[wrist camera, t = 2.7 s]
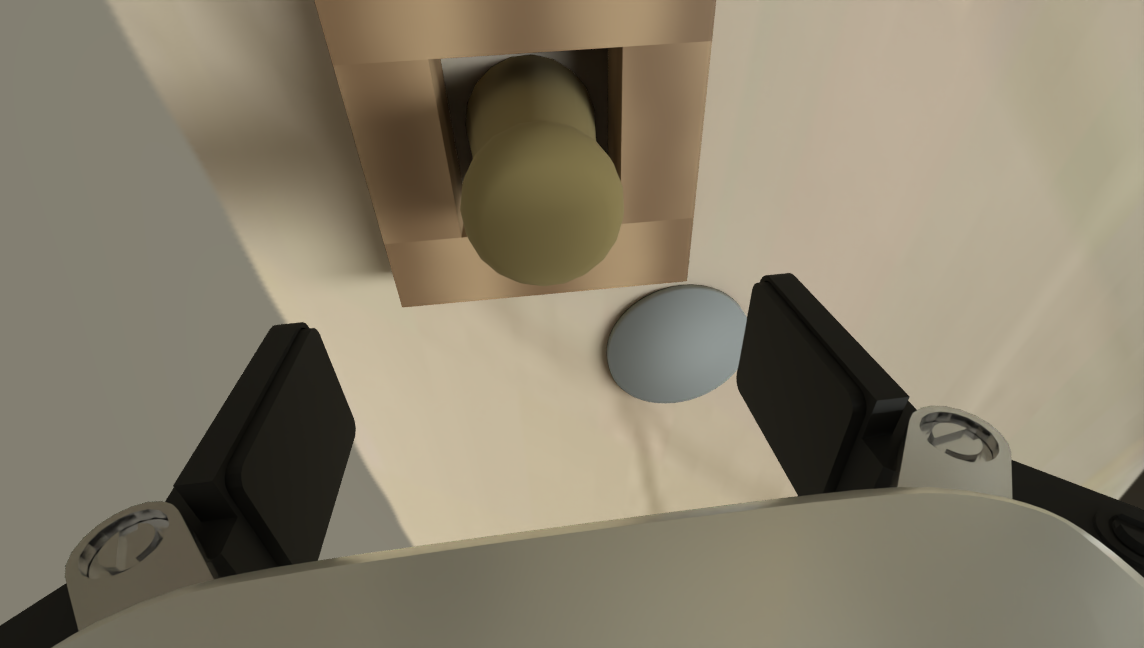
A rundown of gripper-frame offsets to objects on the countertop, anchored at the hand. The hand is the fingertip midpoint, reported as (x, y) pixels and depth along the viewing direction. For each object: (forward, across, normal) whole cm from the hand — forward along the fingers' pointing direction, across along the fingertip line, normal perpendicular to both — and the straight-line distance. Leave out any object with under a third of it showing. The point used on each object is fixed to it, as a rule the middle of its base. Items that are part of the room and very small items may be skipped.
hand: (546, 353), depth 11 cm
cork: (+16, -1, -1) cm, 16 cm away
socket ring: (+16, -1, -1) cm, 16 cm away
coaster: (+16, -9, +13) cm, 23 cm away
